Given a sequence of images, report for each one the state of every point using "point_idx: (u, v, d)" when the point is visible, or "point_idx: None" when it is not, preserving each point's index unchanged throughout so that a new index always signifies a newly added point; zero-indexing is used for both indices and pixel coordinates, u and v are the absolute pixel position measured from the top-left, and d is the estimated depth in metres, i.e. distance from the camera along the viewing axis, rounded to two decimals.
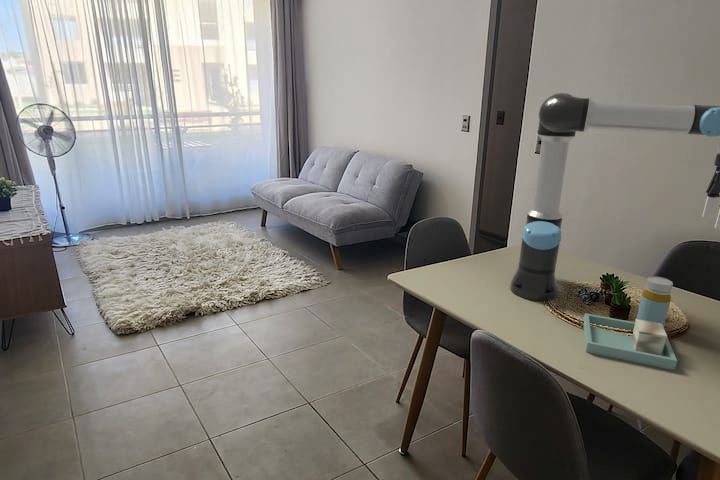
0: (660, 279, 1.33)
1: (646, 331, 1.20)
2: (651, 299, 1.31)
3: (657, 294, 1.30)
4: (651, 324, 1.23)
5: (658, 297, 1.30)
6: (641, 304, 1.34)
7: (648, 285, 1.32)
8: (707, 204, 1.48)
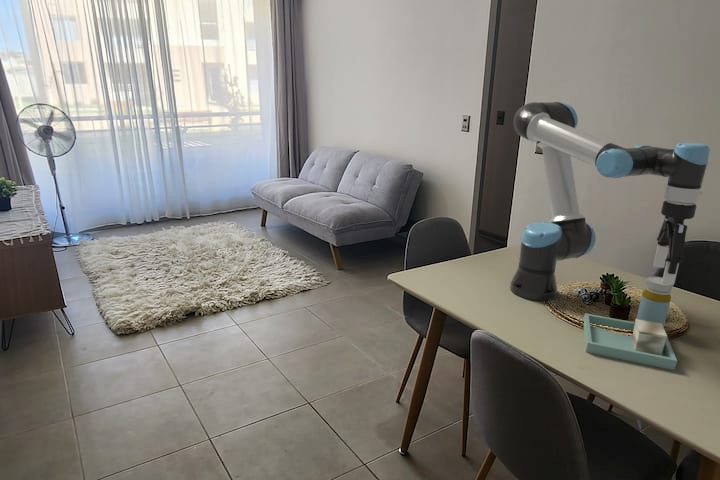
0: (660, 279, 1.33)
1: (646, 331, 1.20)
2: (651, 299, 1.31)
3: (657, 294, 1.30)
4: (651, 324, 1.23)
5: (658, 297, 1.30)
6: (641, 304, 1.34)
7: (648, 285, 1.32)
8: (657, 253, 1.35)
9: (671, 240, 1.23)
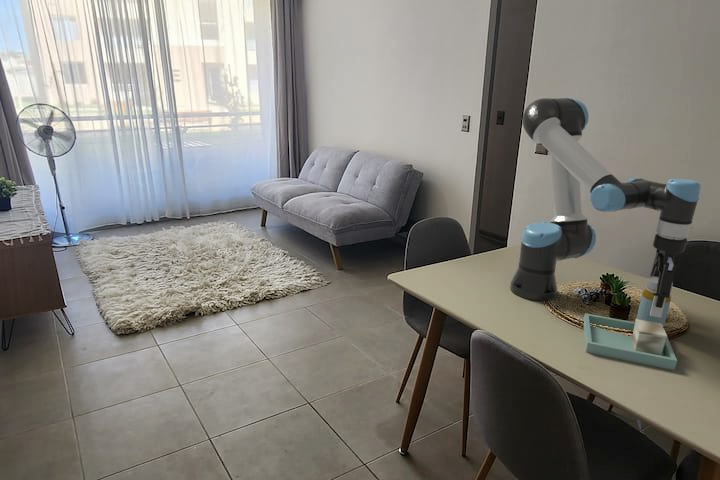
0: None
1: (646, 331, 1.20)
2: (651, 299, 1.31)
3: None
4: (651, 324, 1.23)
5: None
6: (641, 304, 1.34)
7: (648, 285, 1.32)
8: None
9: (660, 275, 1.28)
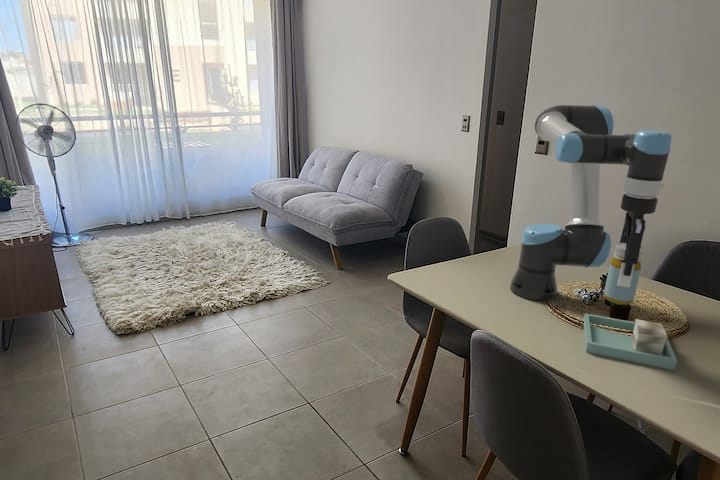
0: None
1: (646, 331, 1.20)
2: (619, 267, 1.18)
3: None
4: (651, 324, 1.23)
5: None
6: (609, 273, 1.21)
7: (616, 252, 1.19)
8: None
9: (628, 239, 1.15)
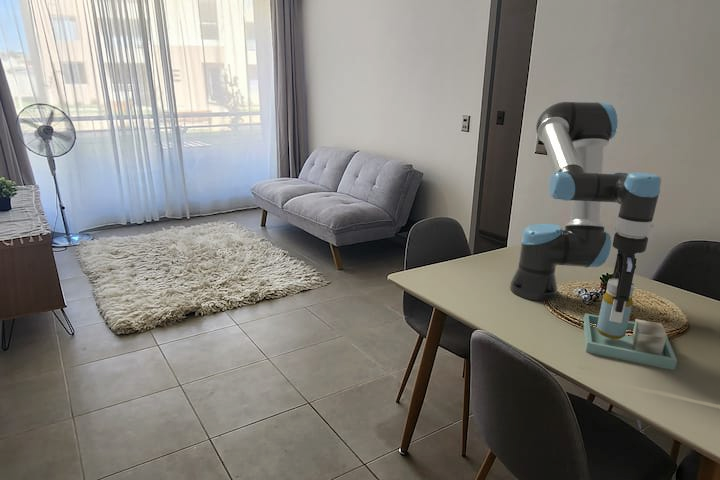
0: None
1: (646, 331, 1.20)
2: (611, 303, 1.21)
3: None
4: (651, 324, 1.23)
5: None
6: (601, 308, 1.24)
7: (608, 288, 1.22)
8: None
9: (620, 276, 1.18)
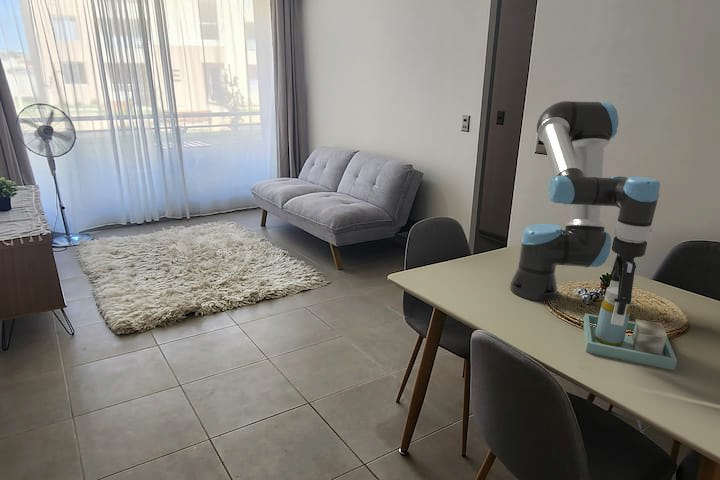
0: None
1: (646, 331, 1.20)
2: (610, 311, 1.22)
3: None
4: (651, 324, 1.23)
5: None
6: (600, 316, 1.25)
7: (607, 295, 1.23)
8: None
9: (620, 279, 1.17)
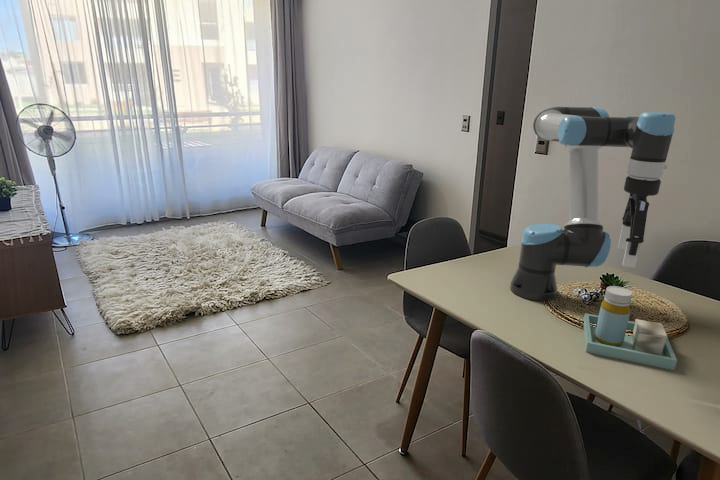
0: (619, 289, 1.23)
1: (646, 331, 1.20)
2: (609, 311, 1.22)
3: (615, 305, 1.21)
4: (651, 324, 1.23)
5: (616, 308, 1.21)
6: (600, 316, 1.25)
7: (606, 295, 1.23)
8: (622, 234, 1.26)
9: (633, 219, 1.13)
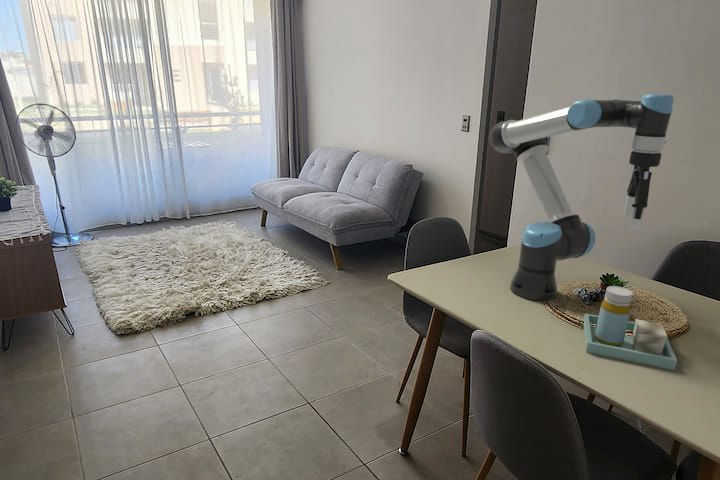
0: (620, 289, 1.24)
1: (646, 331, 1.20)
2: (609, 310, 1.22)
3: (616, 305, 1.21)
4: (651, 324, 1.23)
5: (616, 308, 1.21)
6: (600, 316, 1.25)
7: (606, 295, 1.23)
8: (627, 204, 1.42)
9: (637, 187, 1.30)
